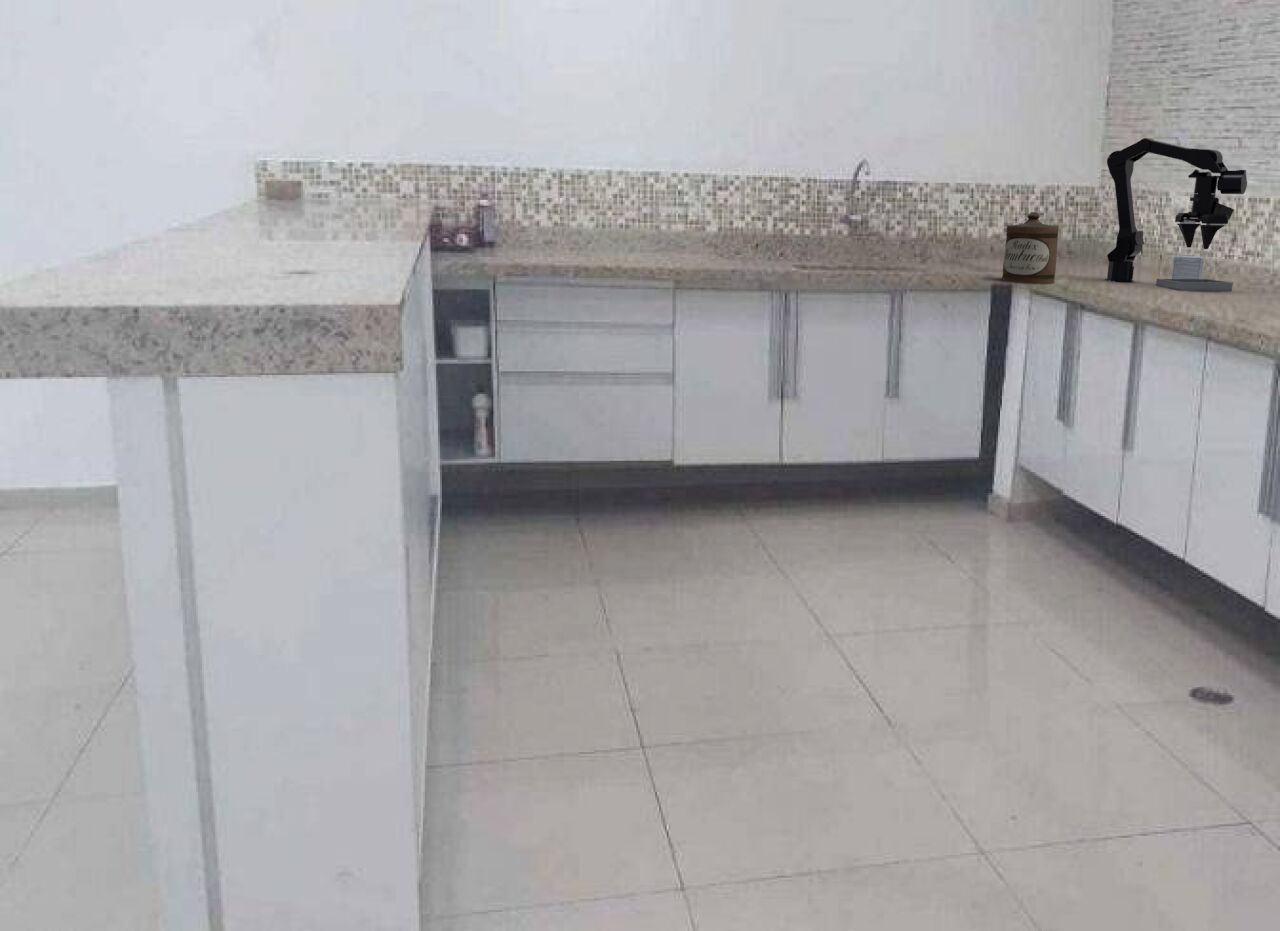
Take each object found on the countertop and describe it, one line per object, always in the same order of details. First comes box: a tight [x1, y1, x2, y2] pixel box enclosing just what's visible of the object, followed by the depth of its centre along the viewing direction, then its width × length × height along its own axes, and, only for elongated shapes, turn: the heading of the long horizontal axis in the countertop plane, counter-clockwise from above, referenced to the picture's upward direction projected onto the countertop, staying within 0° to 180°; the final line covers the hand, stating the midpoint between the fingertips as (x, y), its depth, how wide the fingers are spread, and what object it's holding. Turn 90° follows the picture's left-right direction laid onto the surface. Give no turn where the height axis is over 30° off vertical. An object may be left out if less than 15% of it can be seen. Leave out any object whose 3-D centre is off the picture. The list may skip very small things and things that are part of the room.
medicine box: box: [1171, 255, 1205, 279], centre depth 338 cm, size 8×4×9 cm, turn 54°
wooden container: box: [1001, 211, 1060, 285], centre depth 321 cm, size 15×15×22 cm
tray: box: [1155, 278, 1234, 292], centre depth 322 cm, size 16×13×2 cm
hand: (1197, 248), depth 320 cm, fingers open, 9 cm apart
